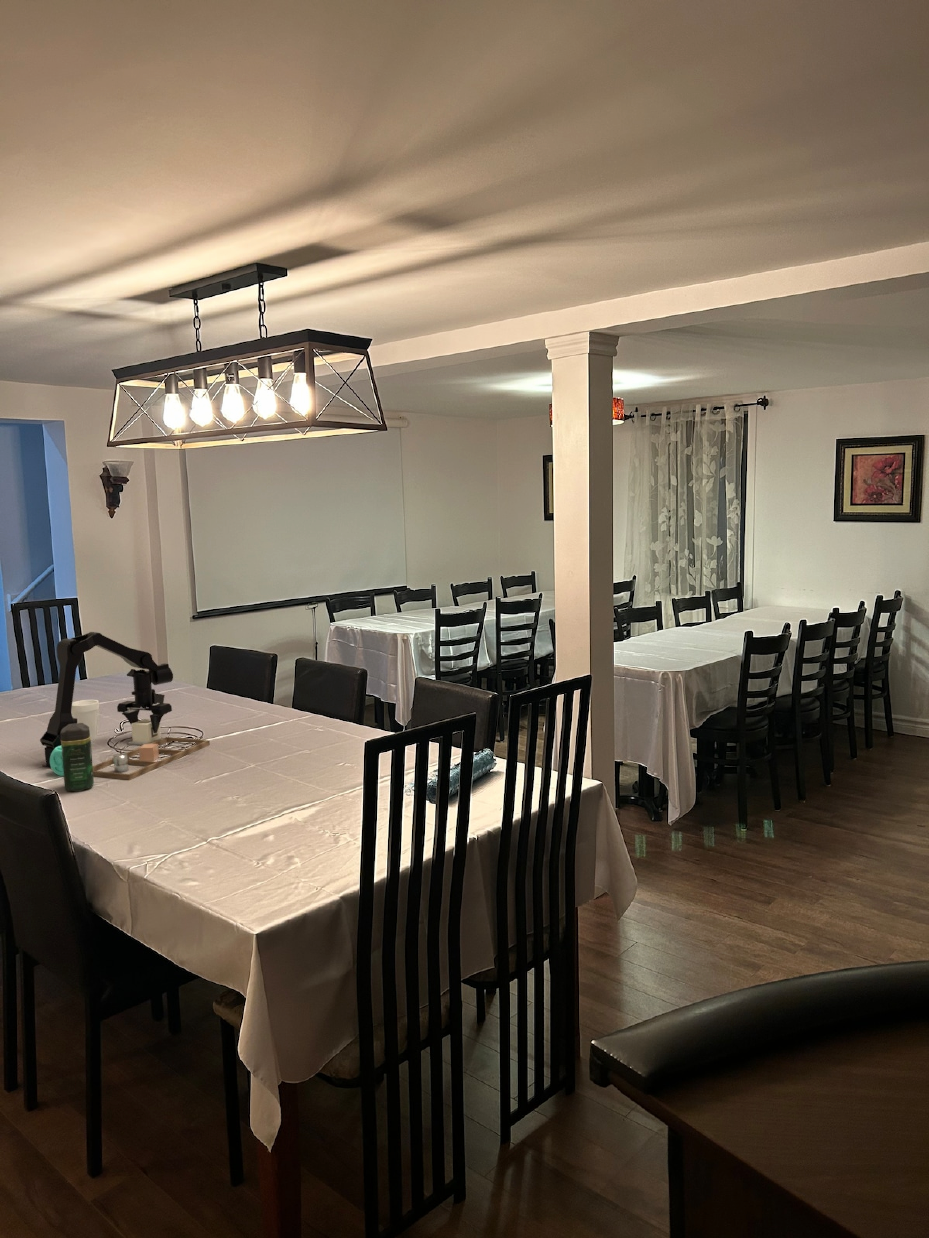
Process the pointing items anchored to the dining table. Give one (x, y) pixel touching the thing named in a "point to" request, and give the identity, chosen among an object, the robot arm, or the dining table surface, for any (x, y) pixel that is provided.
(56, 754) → the teal round container
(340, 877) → the dining table surface
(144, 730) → the letter cube
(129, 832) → the dining table surface
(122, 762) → the grey metal canister
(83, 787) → the coffee jar
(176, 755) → the walnut rack
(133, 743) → the slate pad
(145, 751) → the terracotta block
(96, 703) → the foam cup
